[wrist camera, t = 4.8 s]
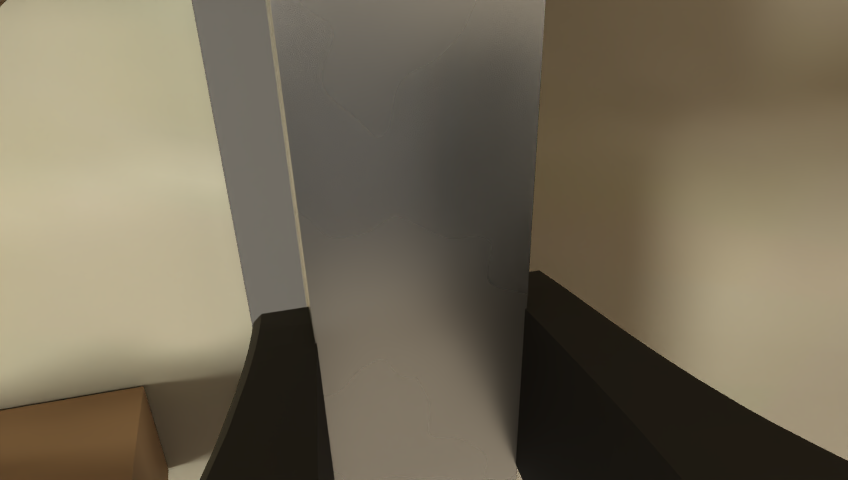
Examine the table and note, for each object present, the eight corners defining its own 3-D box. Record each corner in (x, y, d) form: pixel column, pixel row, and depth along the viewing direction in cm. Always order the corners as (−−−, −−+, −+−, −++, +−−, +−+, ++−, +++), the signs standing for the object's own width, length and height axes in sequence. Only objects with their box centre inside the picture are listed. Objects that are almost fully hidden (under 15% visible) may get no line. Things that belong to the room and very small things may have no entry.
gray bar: (462, 484, 19) (469, 503, 19) (290, 520, 18) (292, 541, 18) (465, -456, 10) (479, -469, 9) (108, -467, 9) (102, -482, 8)
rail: (464, 602, 15) (501, 724, 13) (350, 629, 15) (370, 760, 13) (473, -437, 7) (577, -527, 5) (205, -443, 6) (197, -546, 4)
